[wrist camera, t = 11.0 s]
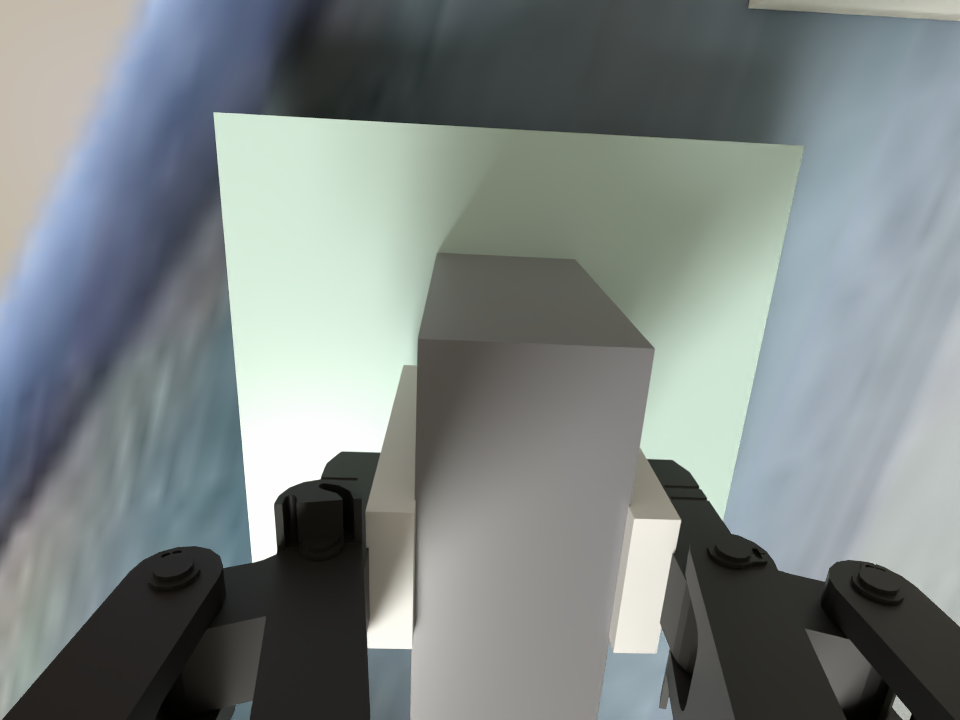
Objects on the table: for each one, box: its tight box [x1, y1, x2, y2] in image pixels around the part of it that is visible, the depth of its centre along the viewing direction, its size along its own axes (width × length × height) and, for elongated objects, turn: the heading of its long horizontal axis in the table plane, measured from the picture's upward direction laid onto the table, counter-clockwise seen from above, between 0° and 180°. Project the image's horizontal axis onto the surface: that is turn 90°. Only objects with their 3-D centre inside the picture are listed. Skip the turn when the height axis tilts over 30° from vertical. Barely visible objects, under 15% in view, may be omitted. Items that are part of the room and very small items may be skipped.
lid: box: [214, 112, 804, 720], centre depth 15 cm, size 14×14×9 cm
